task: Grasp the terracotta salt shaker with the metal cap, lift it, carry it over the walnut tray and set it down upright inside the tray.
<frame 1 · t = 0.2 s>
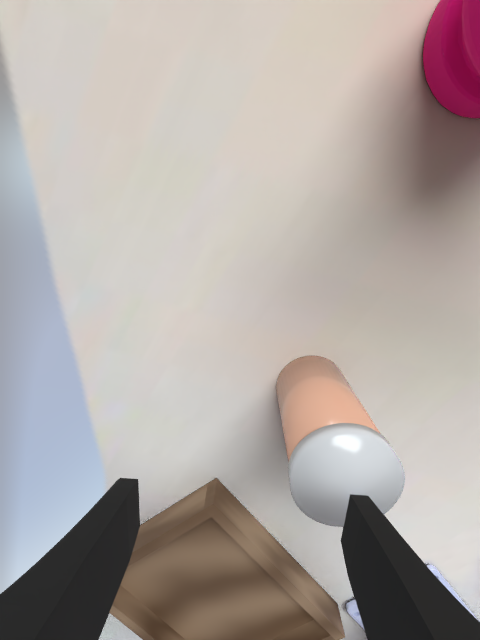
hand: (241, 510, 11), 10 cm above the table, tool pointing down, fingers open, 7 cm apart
walnut tray: (216, 580, 26), on the table
terracotta shaker: (310, 386, 20), on the table
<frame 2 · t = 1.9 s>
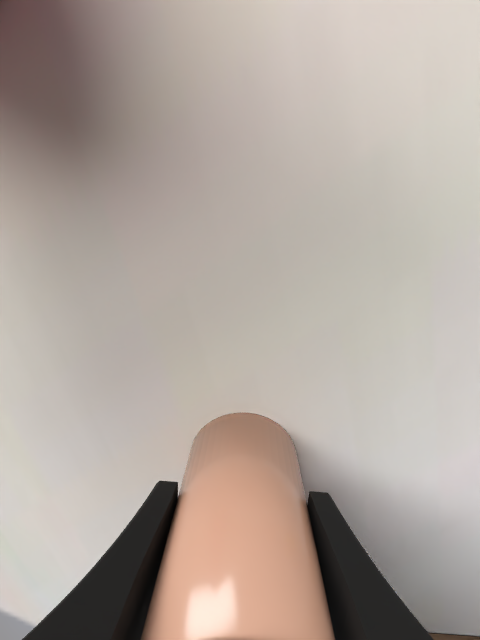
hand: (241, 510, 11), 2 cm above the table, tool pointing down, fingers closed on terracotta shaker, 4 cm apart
terracotta shaker: (243, 459, 13), on the table, touching gripper
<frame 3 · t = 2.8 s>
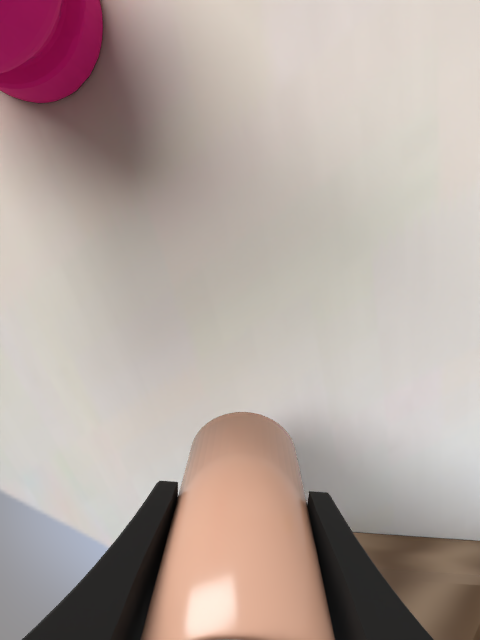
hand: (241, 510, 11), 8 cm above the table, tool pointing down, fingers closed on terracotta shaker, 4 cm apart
pepper mill: (33, 21, 13), on the table
walnut tray: (369, 604, 22), on the table
terracotta shaker: (243, 458, 13), point 5 cm above the table, touching gripper
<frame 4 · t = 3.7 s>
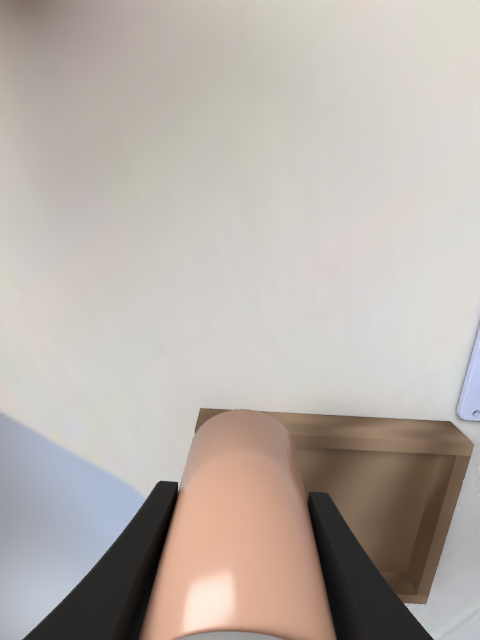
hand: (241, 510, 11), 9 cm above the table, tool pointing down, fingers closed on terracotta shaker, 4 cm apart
walnut tray: (313, 496, 22), on the table
terracotta shaker: (242, 456, 13), point 7 cm above the table, touching gripper
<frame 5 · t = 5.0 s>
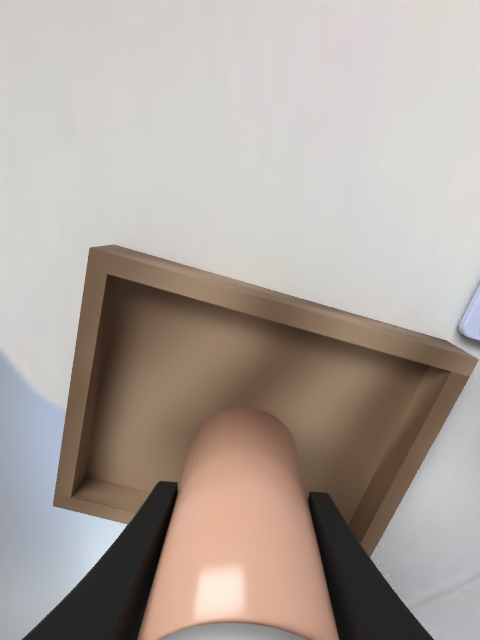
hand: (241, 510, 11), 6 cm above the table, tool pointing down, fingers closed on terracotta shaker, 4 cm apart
walnut tray: (245, 412, 16), on the table
terracotta shaker: (243, 454, 13), point 3 cm above the table, touching gripper
when the fingers open (4 cm above the table, at t = 5.7 s): terracotta shaker drops 1 cm, resting on walnut tray.
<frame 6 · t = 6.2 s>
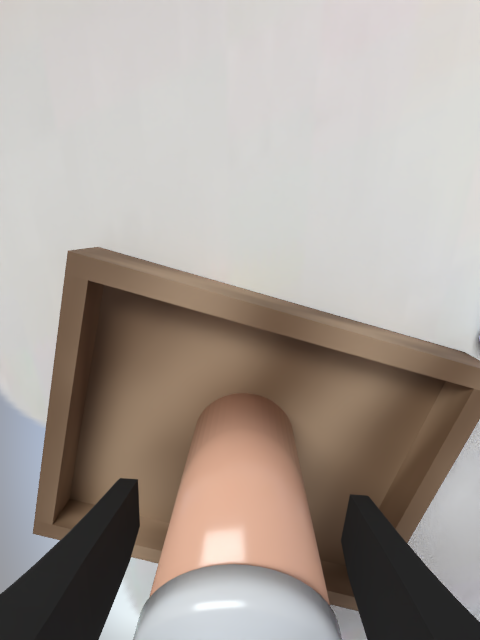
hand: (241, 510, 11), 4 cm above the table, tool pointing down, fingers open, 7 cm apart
walnut tray: (243, 429, 15), on the table
terracotta shaker: (243, 437, 14), point 1 cm above the table, touching walnut tray
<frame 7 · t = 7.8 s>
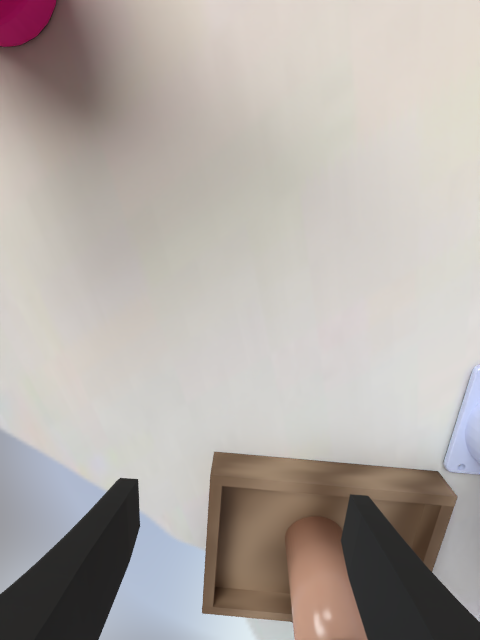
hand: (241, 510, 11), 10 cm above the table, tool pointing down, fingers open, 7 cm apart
walnut tray: (312, 531, 24), on the table
terracotta shaker: (314, 539, 23), point 1 cm above the table, touching walnut tray
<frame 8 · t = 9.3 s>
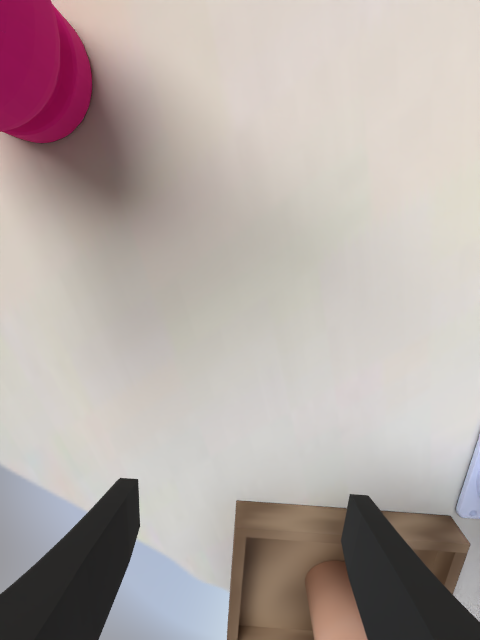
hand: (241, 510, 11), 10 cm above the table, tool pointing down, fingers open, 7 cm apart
pepper mill: (36, 78, 16), on the table
walnut tray: (330, 571, 25), on the table
terracotta shaker: (333, 581, 25), point 1 cm above the table, touching walnut tray
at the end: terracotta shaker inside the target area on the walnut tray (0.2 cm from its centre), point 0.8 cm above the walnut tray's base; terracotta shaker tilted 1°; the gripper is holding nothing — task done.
